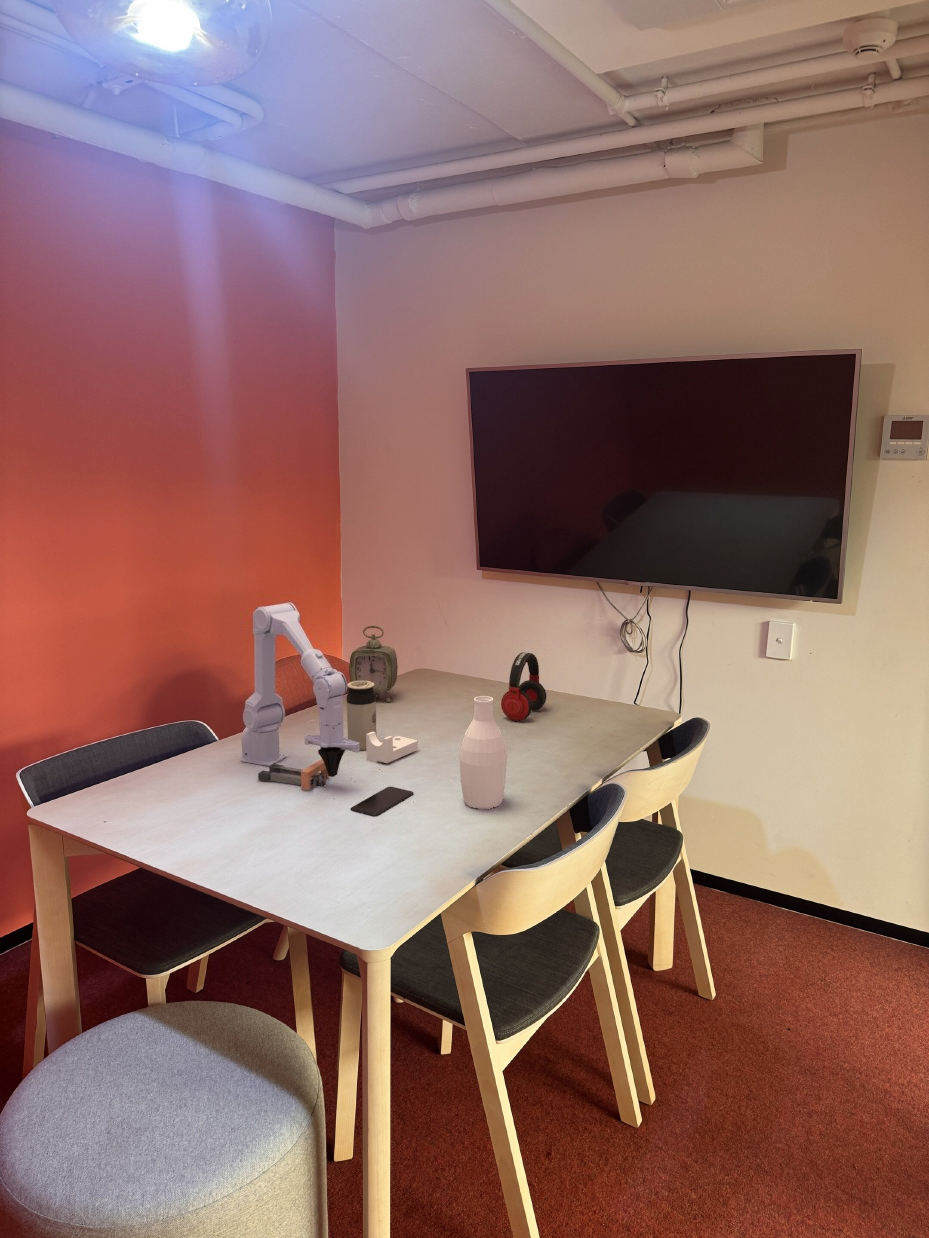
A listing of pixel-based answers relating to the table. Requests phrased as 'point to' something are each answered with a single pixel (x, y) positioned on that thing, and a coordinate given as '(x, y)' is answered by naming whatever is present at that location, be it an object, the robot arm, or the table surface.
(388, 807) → the smartphone
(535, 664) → the headphones
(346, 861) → the table surface
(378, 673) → the tabletop clock
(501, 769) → the bottle
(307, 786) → the orange bridge block
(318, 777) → the base
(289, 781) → the tong arm
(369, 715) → the travel mug
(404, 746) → the bracket
